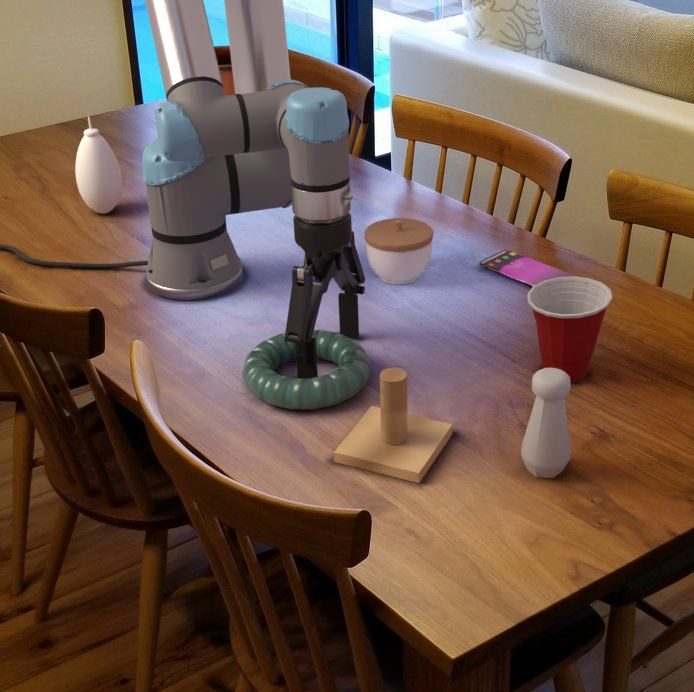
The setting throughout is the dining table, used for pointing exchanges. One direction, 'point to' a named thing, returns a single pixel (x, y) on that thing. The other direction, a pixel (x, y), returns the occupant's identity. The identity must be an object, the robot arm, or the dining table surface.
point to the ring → (307, 389)
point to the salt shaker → (547, 425)
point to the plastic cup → (568, 321)
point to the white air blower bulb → (97, 172)
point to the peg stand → (393, 435)
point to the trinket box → (398, 249)
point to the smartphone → (522, 268)
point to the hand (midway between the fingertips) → (329, 357)
